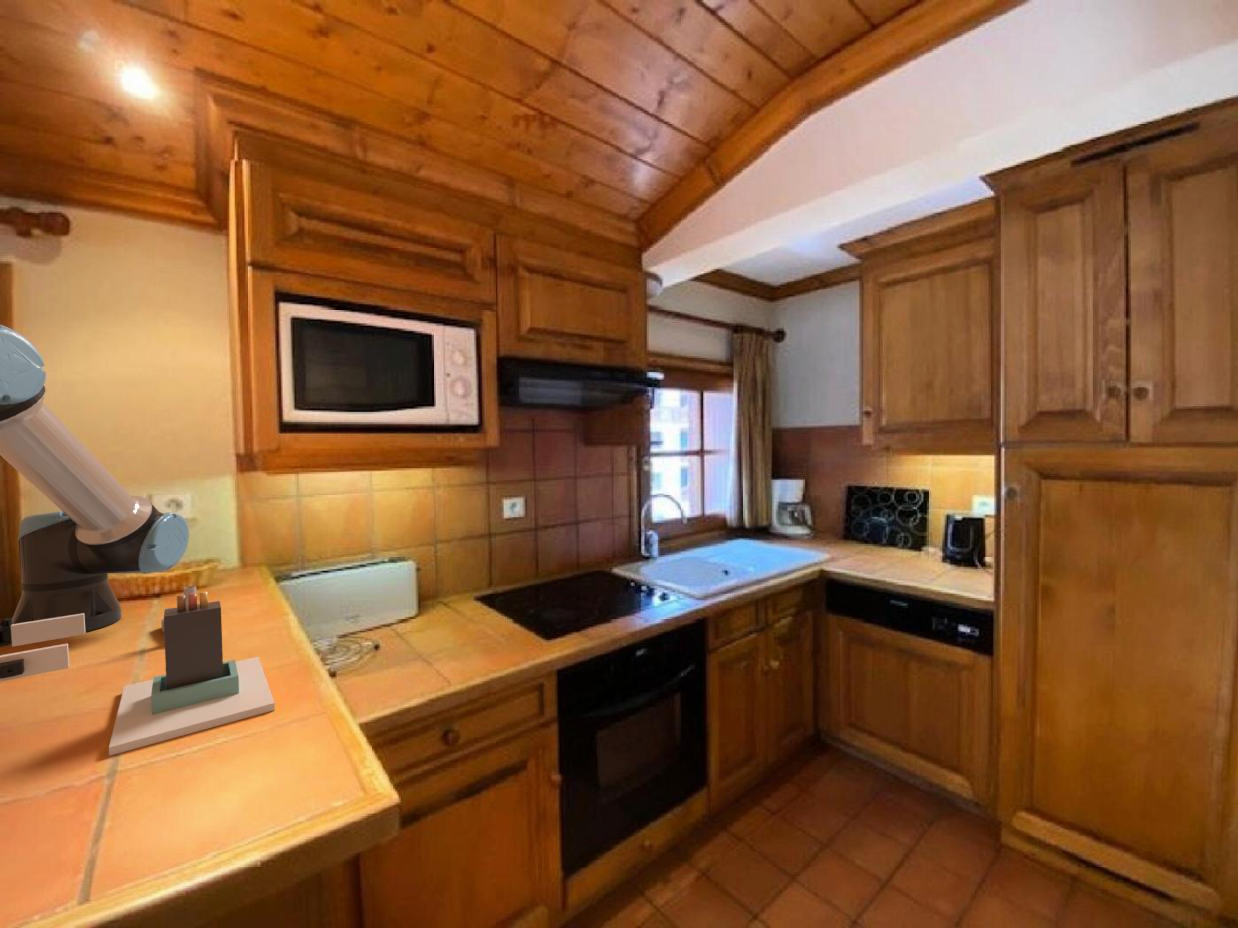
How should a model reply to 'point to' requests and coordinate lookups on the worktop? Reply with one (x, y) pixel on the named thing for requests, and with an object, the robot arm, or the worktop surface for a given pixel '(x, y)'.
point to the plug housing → (193, 641)
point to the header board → (189, 705)
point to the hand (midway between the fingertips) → (77, 638)
